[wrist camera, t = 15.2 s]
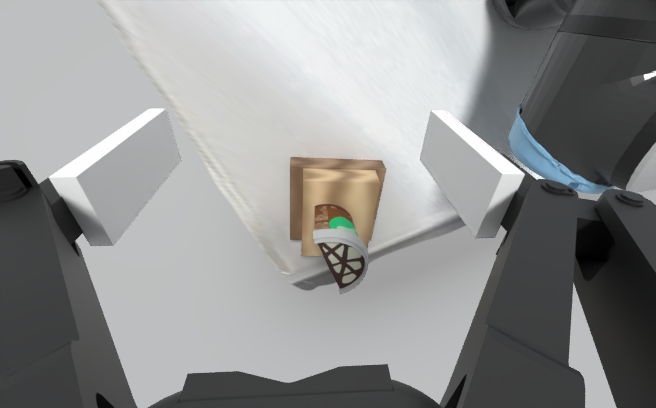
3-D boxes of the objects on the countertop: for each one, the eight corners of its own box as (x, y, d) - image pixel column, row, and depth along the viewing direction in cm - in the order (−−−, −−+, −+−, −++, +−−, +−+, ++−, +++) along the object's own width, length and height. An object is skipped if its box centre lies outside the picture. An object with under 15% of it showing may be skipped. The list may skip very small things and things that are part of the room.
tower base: (381, 158, 51) (386, 169, 48) (367, 227, 61) (371, 240, 57) (290, 155, 50) (289, 166, 47) (290, 226, 59) (290, 239, 56)
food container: (367, 241, 52) (379, 285, 44) (335, 250, 53) (341, 296, 44) (348, 186, 45) (357, 227, 37) (311, 198, 46) (312, 241, 38)
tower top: (375, 170, 48) (380, 182, 45) (362, 241, 57) (365, 255, 54) (303, 168, 47) (303, 180, 44) (301, 241, 56) (301, 255, 53)
